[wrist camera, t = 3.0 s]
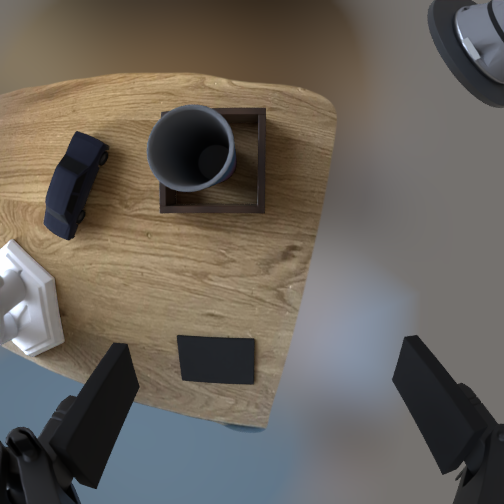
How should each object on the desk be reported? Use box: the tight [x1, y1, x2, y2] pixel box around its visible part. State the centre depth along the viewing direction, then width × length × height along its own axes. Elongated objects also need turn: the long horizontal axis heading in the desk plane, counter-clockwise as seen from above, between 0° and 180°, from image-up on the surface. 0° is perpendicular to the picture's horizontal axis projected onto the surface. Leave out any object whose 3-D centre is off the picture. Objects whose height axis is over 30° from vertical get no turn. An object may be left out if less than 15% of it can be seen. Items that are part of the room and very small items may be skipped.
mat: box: [177, 335, 254, 384], centre depth 41 cm, size 11×8×1 cm
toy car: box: [44, 131, 109, 240], centre depth 34 cm, size 6×15×5 cm, turn 152°
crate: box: [159, 108, 266, 213], centre depth 33 cm, size 12×12×4 cm
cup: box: [147, 105, 237, 192], centre depth 28 cm, size 7×7×15 cm
